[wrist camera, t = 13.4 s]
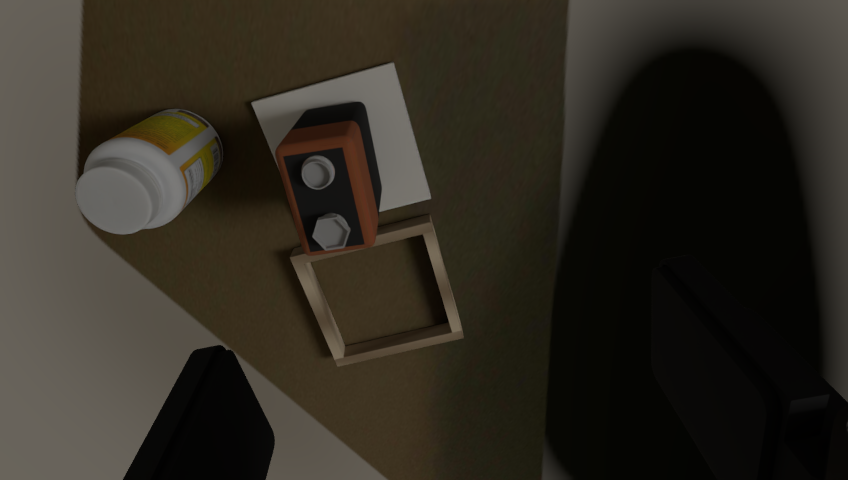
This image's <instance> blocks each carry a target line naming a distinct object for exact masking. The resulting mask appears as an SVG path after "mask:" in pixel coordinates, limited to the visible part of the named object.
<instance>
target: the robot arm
mask: <svg viewBox="0 0 848 480" xmlns="http://www.w3.org/2000/svg"><path fill="white" fill-rule="evenodd" d="M651 357H652V358H651V362H652V369H653V372H654V375H655V378H656V379H657V381H658V383H659V384H660V386H661V388H662V389H663V391H664V393H665V394H666V396H667V398H668V399H669V401H670V403H671V404H672V406H673V408H674V409H675V411H676V412H677V414H678V416H679V417H680V419H681V421H682V422H683V424H684V426H685V427H686V429H687V430H688V432H689V434H690V435H691V437H692V439H693V440H694V442H695V443H696V445H697V447H698V449H699V450H700V452H701V453H702V455H703V457H704V458H705V460H706V461H707V463H708V465H709V466H710V468H711V470H712V471H713V473H714V475H715V476H716V478H717V480H848V402H847V401H846V400H845V399H843V397H842V396H841V395H840V394H839V393H838V392H837V391H836V390H835V389H834V388H833V387H831V386H830V385H829V384H828V383H827V382H826V381H825V380H824V379H823V378H822V377H821V376H820V375H819V374H818V373H817V372H816V371H815V370H814V369H813V368H812V367H811V366H810V365H809V364H808V363H807V362H806V361H805V360H804V359H803V358H802V357H801V356H800V355H799V354H798V353H797V352H796V351H795V350H794V349H793V348H792V347H791V346H790V345H789V344H788V343H787V342H786V341H785V340H784V339H783V338H782V337H781V336H780V335H779V334H778V333H777V332H776V331H775V330H774V329H773V328H772V327H771V326H770V325H769V324H768V323H766V321H765V320H763V319H762V317H761V316H760V315H758V314H757V313H756V312H755V311H753V310H752V309H748V308H744V307H743V306H742V305H741V304H740V303H739V302H738V301H737V300H736V299H735V298H734V297H733V296H732V295H731V294H730V293H729V292H728V291H727V290H726V289H725V288H724V287H723V286H722V285H721V284H720V283H719V282H718V281H717V280H716V279H715V278H714V277H713V276H712V275H711V274H710V273H709V272H708V271H707V270H706V269H705V268H704V267H703V266H702V265H701V264H700V263H699V262H698V261H697V260H696V259H695V258H694V257H693V256H692V255H685V256H679V257H674V258H669V259H664V260H662V261H661V262H660V265H659V267H658V268H654V269H653V271H652V352H651ZM274 442H275V439H274V433H273V430H272V428H271V426H270V424H269V422H268V420H267V418H266V416H265V414H264V412H263V410H262V408H261V406H260V404H259V402H258V400H257V398H256V396H255V394H254V392H253V390H252V388H251V386H250V384H249V383H248V380H247V379H246V376H245V374H244V372H243V370H242V368H241V366H240V364H239V362H238V360H237V358H236V356H235V354H234V353H233V351H231V350H226V349H225V348H224V347H223V346H221V345H217V346H213V347H207V348H202V349H197V350H195V351H193V352H192V354H191V355H190V357H189V359H188V361H187V362H186V364H185V366H184V368H183V370H182V372H181V373H180V375H179V377H178V379H177V381H176V383H175V385H174V387H173V388H172V390H171V392H170V394H169V396H168V398H167V399H166V401H165V403H164V405H163V407H162V409H161V410H160V412H159V414H158V416H157V418H156V420H155V421H154V423H153V425H152V427H151V429H150V431H149V432H148V434H147V436H146V438H145V440H144V442H143V444H142V445H141V447H140V449H139V451H138V453H137V455H136V456H135V458H134V460H133V462H132V464H131V466H130V467H129V469H128V471H127V473H126V475H125V477H124V479H123V480H265V479H266V476H267V472H268V469H269V465H270V461H271V457H272V454H273V450H274V444H275V443H274Z"/></svg>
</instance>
